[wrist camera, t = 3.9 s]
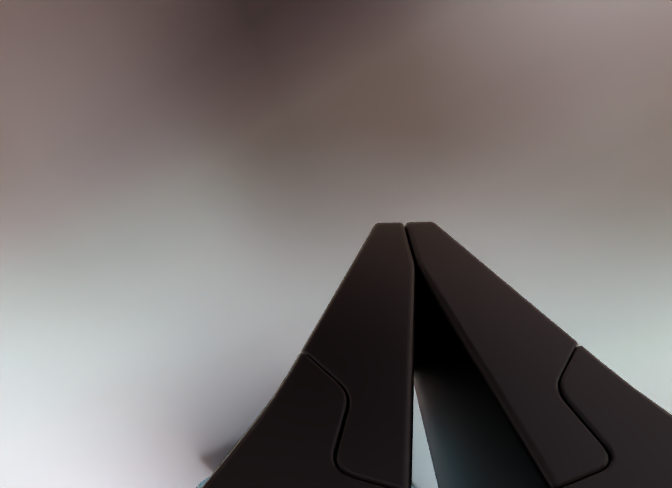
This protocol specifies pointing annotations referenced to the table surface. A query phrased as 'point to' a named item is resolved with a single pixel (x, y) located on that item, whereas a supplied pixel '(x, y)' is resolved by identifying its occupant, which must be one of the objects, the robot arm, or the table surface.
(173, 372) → the table surface
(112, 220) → the table surface
